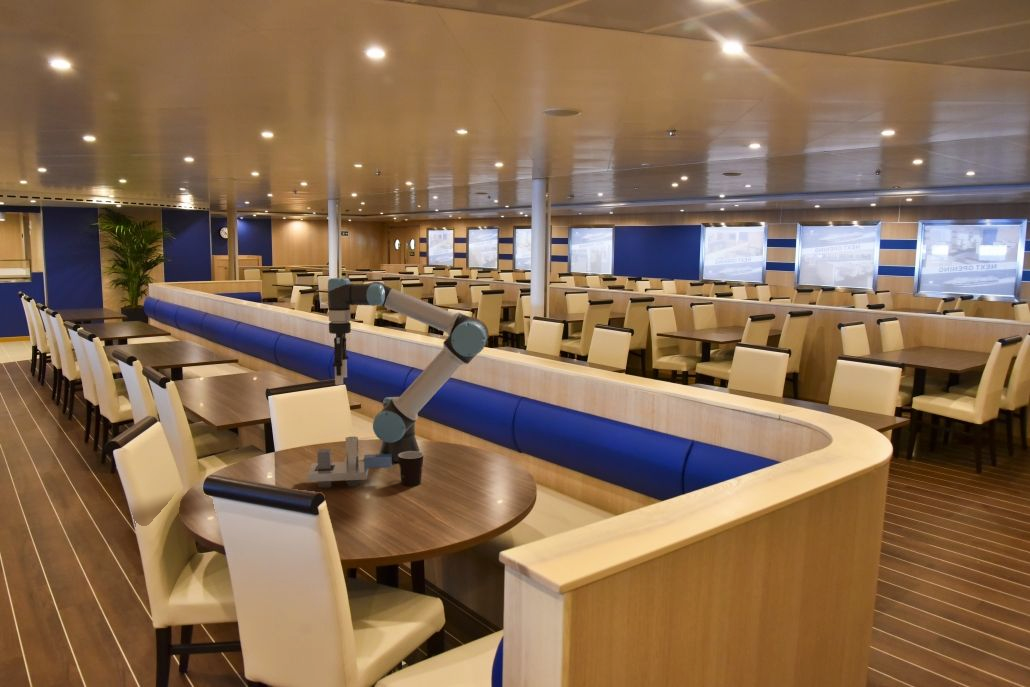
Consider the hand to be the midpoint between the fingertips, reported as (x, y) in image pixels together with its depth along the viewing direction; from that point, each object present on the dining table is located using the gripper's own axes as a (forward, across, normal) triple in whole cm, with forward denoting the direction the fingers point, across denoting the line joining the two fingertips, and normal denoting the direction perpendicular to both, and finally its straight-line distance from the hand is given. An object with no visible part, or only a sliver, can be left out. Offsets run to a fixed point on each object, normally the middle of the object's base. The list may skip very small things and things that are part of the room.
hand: (341, 380), depth 251 cm
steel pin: (+32, +20, -4) cm, 38 cm away
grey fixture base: (+32, +20, +5) cm, 38 cm away
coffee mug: (+32, +20, +25) cm, 45 cm away
